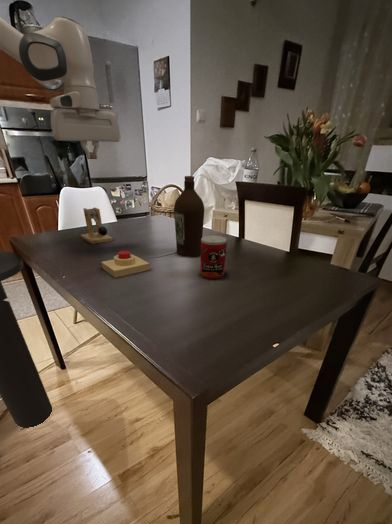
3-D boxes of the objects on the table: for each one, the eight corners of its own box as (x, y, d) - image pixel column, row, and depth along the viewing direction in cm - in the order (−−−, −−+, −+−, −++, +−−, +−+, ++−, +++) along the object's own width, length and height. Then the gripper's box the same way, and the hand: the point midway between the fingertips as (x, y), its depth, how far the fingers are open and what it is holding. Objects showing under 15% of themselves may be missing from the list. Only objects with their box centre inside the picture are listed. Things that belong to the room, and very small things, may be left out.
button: (121, 260, 88) (121, 255, 87) (116, 257, 90) (116, 252, 89) (132, 258, 90) (131, 253, 89) (127, 255, 92) (126, 250, 91)
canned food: (199, 279, 86) (200, 242, 80) (200, 269, 93) (201, 234, 86) (224, 280, 86) (227, 243, 80) (223, 270, 93) (226, 235, 86)
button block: (115, 277, 86) (113, 265, 84) (102, 268, 92) (100, 256, 90) (149, 269, 92) (148, 257, 90) (135, 261, 98) (134, 249, 96)
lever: (108, 236, 114) (109, 230, 111) (100, 238, 112) (100, 231, 110) (94, 214, 117) (94, 207, 115) (86, 215, 116) (86, 208, 113)
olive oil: (194, 247, 113) (195, 174, 98) (208, 255, 105) (211, 177, 91) (170, 251, 109) (167, 175, 94) (182, 259, 101) (181, 178, 86)
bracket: (112, 240, 119) (107, 210, 112) (91, 244, 114) (85, 212, 108) (101, 234, 127) (96, 205, 120) (81, 237, 122) (75, 207, 115)
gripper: (111, 106, 90) (118, 158, 98) (43, 99, 79) (56, 158, 88) (120, 104, 86) (126, 159, 94) (49, 97, 75) (63, 159, 83)
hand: (92, 159), depth 91 cm, fingers closed
